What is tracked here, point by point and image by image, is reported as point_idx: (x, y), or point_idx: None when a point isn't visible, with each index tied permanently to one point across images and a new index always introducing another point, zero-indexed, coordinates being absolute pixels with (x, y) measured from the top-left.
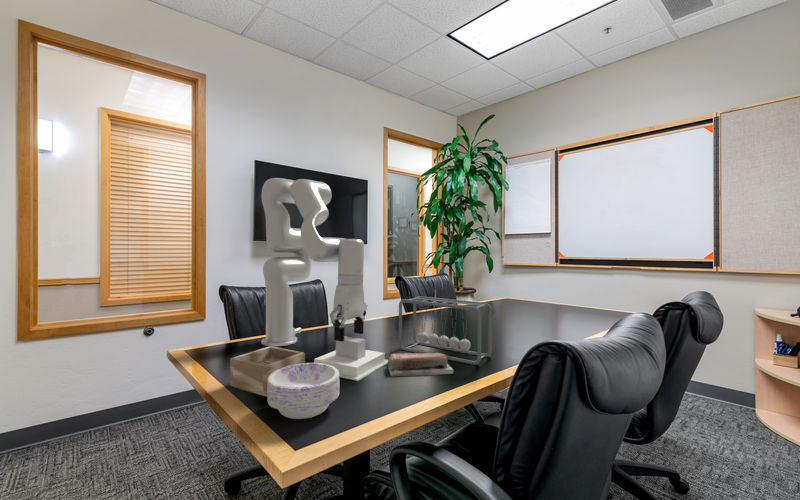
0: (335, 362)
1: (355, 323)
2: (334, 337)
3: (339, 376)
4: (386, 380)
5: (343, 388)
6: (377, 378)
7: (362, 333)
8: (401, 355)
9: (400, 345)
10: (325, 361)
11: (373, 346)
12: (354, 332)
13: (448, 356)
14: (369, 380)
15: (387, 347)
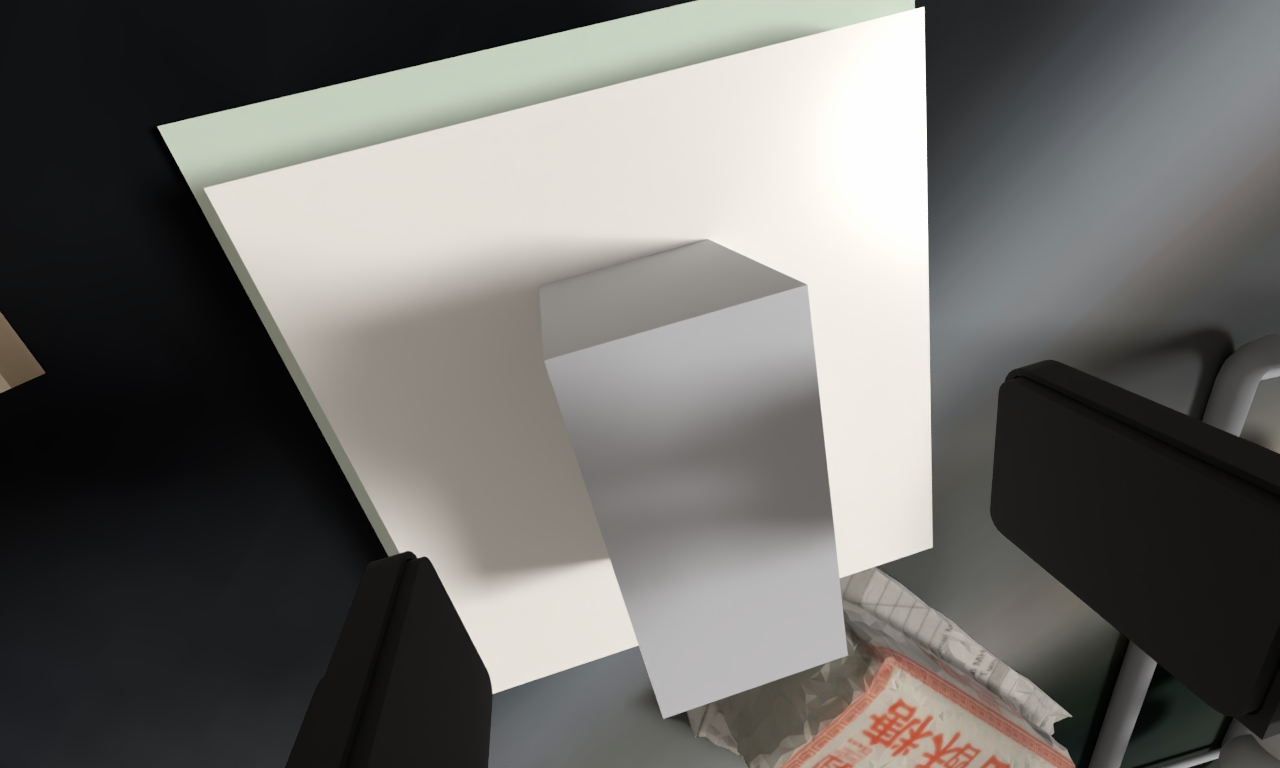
0: (388, 489)
1: (1207, 521)
2: (357, 600)
3: (383, 538)
4: (610, 737)
5: (289, 708)
6: (593, 691)
7: (1007, 528)
8: (875, 756)
9: (1272, 359)
10: (307, 381)
11: (1266, 34)
12: (1002, 390)
13: (1136, 699)
14: (528, 691)
15: (1266, 194)
